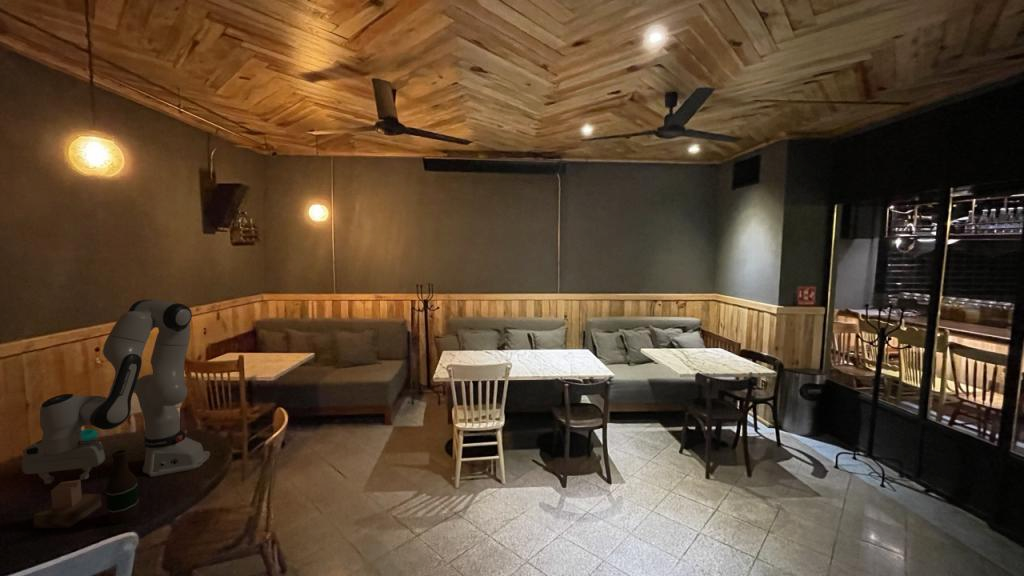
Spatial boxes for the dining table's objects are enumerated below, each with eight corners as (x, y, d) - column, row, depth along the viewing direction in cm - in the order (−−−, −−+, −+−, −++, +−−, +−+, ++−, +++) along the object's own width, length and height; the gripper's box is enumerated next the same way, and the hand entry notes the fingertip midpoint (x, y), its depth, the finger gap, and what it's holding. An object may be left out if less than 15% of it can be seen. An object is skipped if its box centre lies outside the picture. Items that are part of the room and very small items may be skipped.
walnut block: (101, 506, 143) (100, 493, 142) (70, 528, 132) (69, 514, 131) (68, 507, 142) (67, 494, 141) (34, 529, 131) (33, 515, 130)
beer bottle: (122, 509, 141) (117, 446, 138) (145, 509, 141) (141, 445, 139) (101, 525, 133) (96, 458, 131) (126, 524, 134) (121, 457, 131)
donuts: (101, 431, 176) (68, 440, 167) (102, 453, 177) (70, 463, 168) (94, 426, 181) (62, 434, 173) (96, 446, 182) (64, 456, 174)
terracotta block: (82, 498, 139) (80, 479, 139) (72, 507, 135) (70, 487, 134) (63, 500, 138) (61, 482, 137) (52, 510, 133) (50, 490, 132)
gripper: (107, 434, 140) (111, 471, 142) (32, 441, 134) (37, 479, 136) (94, 443, 134) (98, 481, 136) (15, 451, 128) (20, 490, 130)
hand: (67, 480), depth 136 cm, fingers open, 8 cm apart
